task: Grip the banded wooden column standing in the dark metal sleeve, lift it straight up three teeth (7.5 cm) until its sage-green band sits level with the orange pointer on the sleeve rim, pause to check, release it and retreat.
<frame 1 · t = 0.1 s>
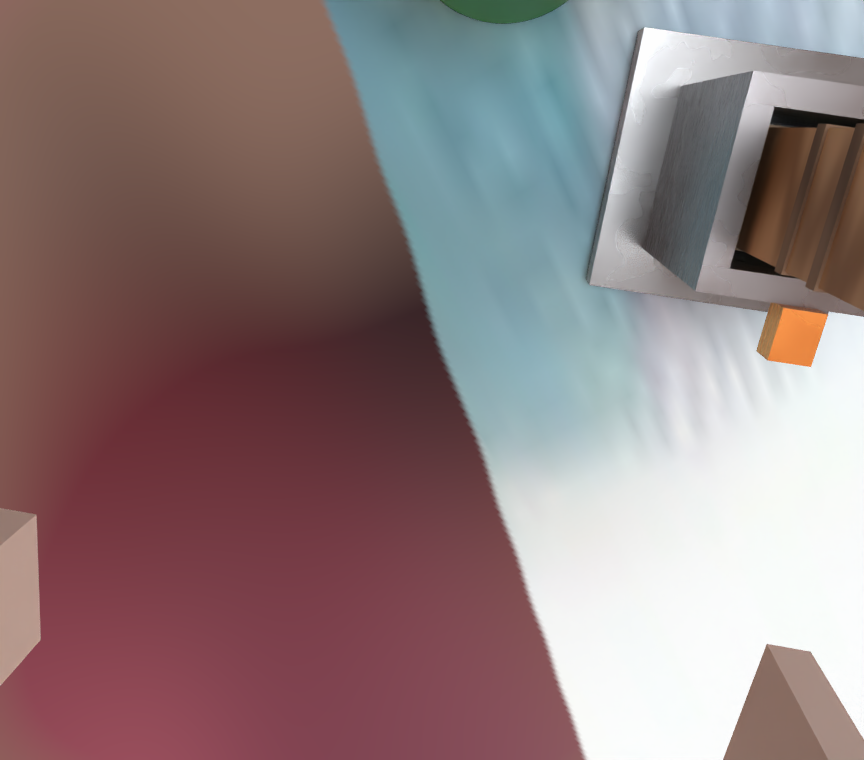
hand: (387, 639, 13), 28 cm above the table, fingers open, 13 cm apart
stand base: (730, 179, 37), on the table
column: (856, 207, 24), point 13 cm above the table, slide at 0.0 cm
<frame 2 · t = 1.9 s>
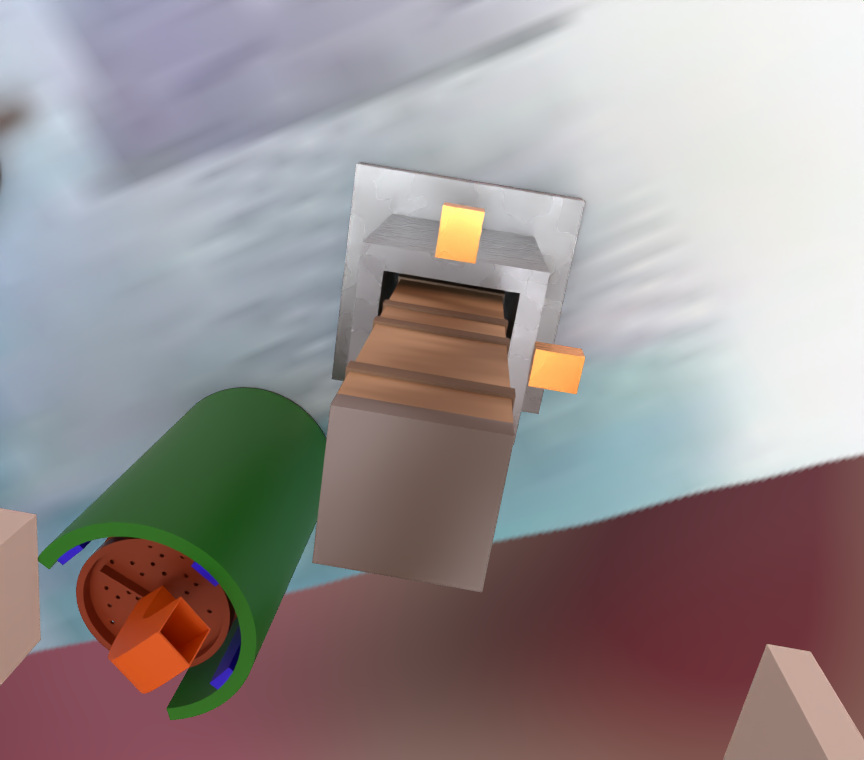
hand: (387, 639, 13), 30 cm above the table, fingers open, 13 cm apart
stand base: (452, 289, 41), on the table
motor: (260, 455, 46), on the table
column: (438, 361, 29), point 13 cm above the table, slide at 0.0 cm
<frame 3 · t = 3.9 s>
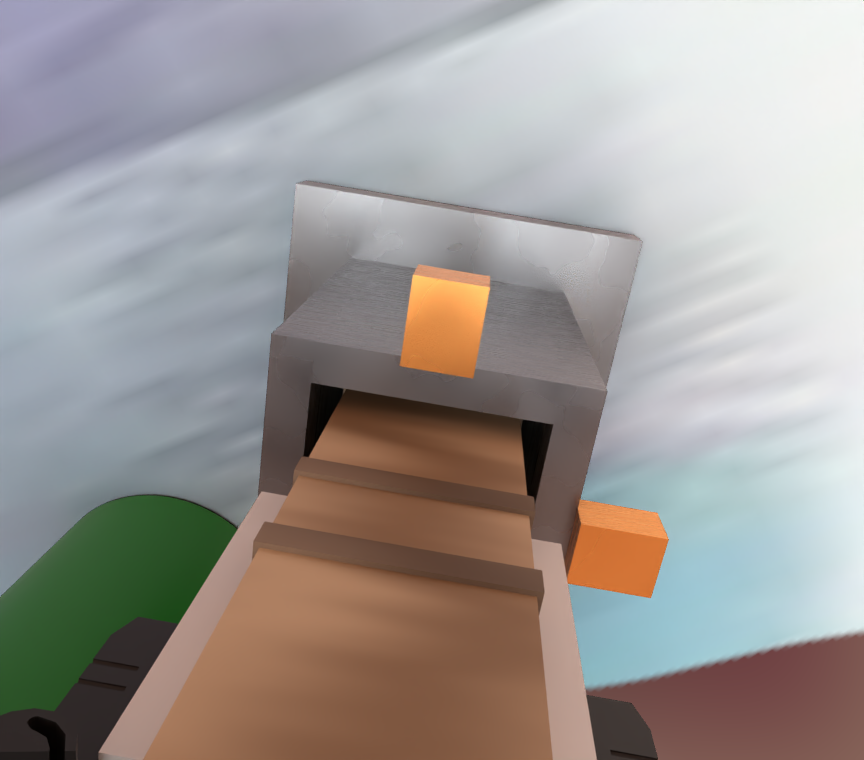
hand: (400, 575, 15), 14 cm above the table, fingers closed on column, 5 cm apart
stand base: (443, 363, 28), on the table
motor: (177, 584, 33), on the table
column: (405, 553, 16), point 13 cm above the table, slide at 0.0 cm, touching gripper
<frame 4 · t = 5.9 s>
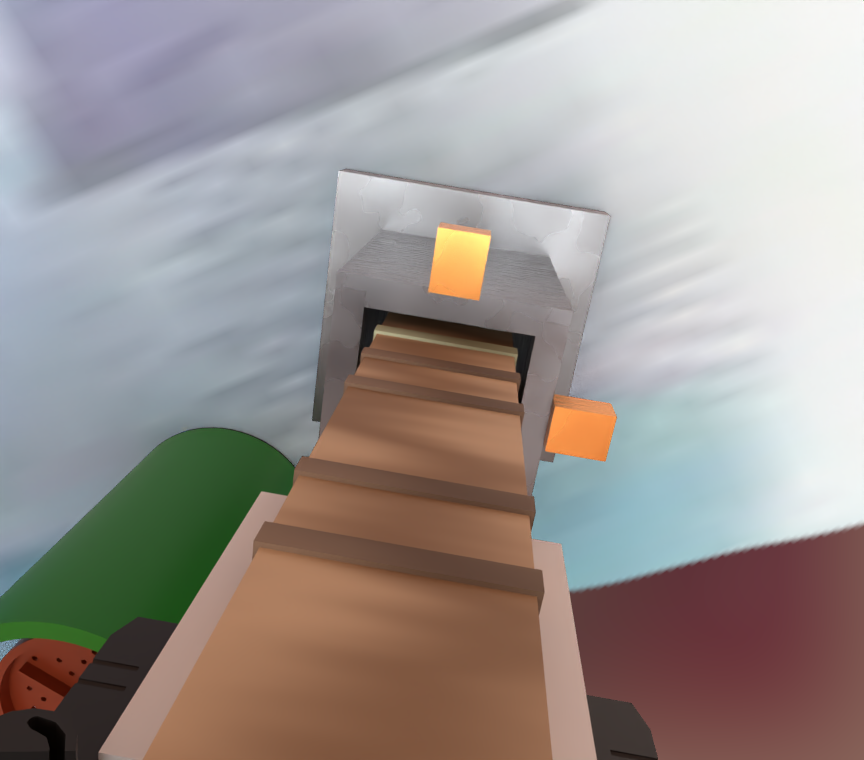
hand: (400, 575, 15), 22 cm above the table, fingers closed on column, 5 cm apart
stand base: (453, 316, 35), on the table
motor: (232, 504, 40), on the table
column: (405, 553, 16), point 21 cm above the table, slide at 7.3 cm, touching gripper
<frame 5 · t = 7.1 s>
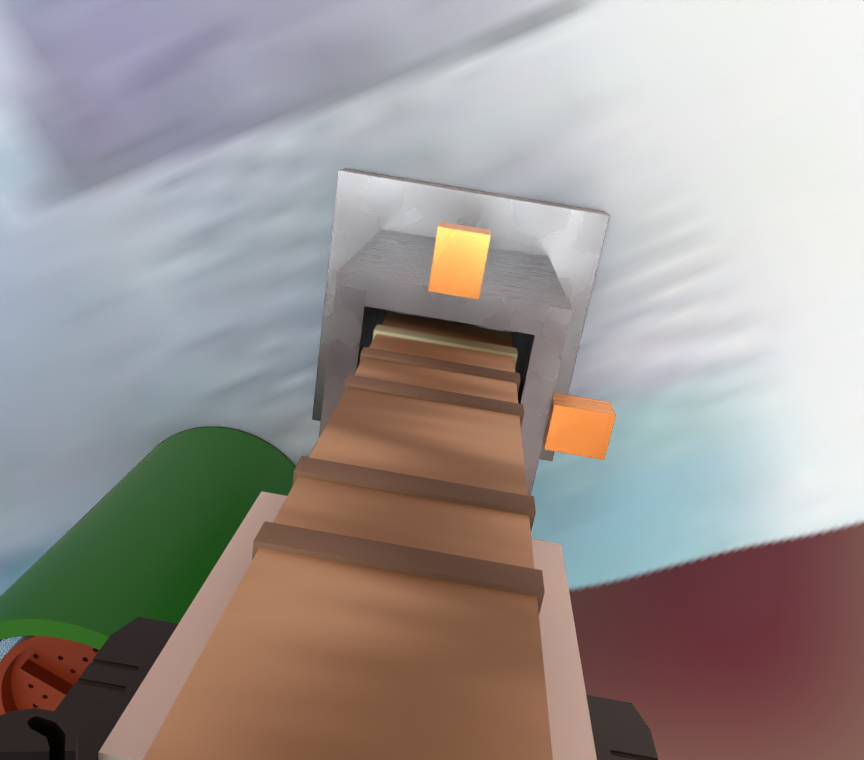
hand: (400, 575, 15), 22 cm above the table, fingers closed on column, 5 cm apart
stand base: (453, 315, 35), on the table
motor: (232, 503, 40), on the table
column: (405, 553, 16), point 21 cm above the table, slide at 7.5 cm, touching gripper
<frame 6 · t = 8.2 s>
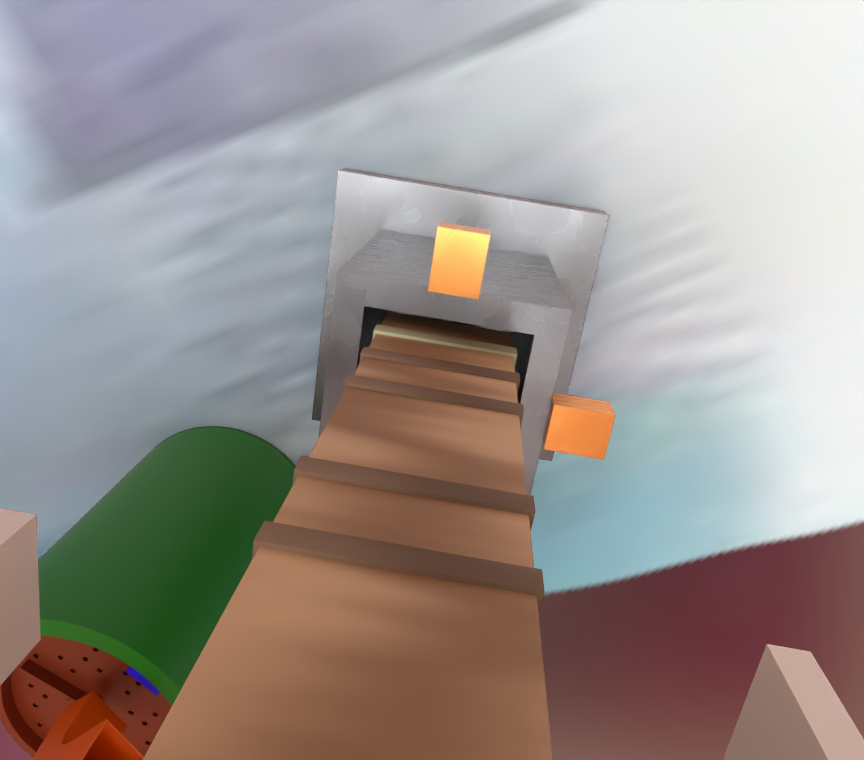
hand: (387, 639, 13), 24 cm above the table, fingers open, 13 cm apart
stand base: (452, 315, 36), on the table
motor: (232, 503, 40), on the table
column: (405, 553, 16), point 21 cm above the table, slide at 7.5 cm
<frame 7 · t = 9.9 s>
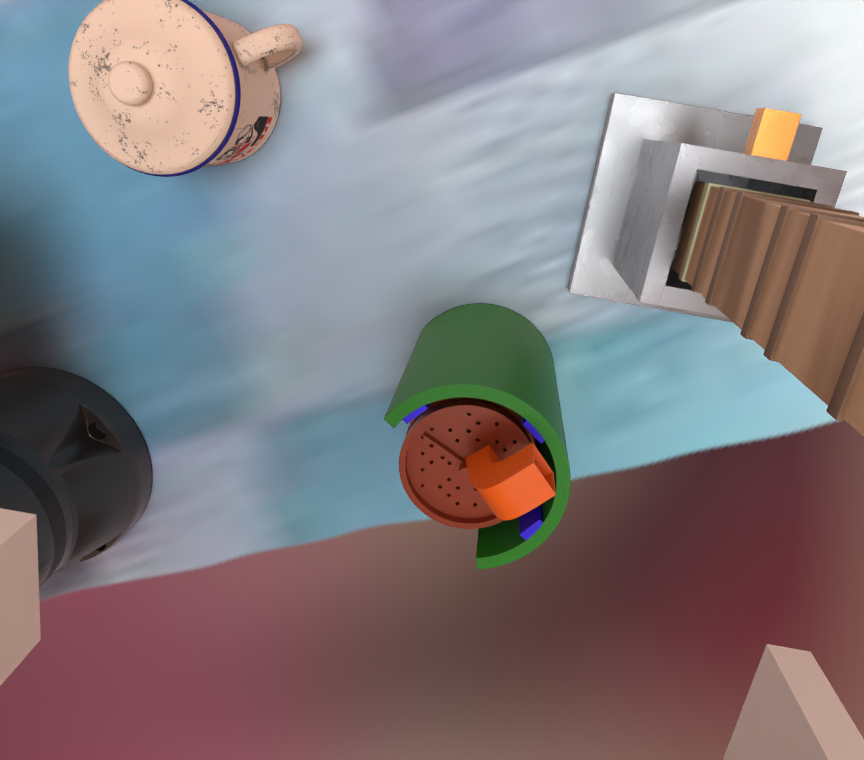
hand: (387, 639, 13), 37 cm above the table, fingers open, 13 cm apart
stand base: (683, 211, 46), on the table
motor: (486, 368, 51), on the table
teacup with lid: (236, 83, 46), on the table
column: (817, 278, 26), point 21 cm above the table, slide at 7.5 cm
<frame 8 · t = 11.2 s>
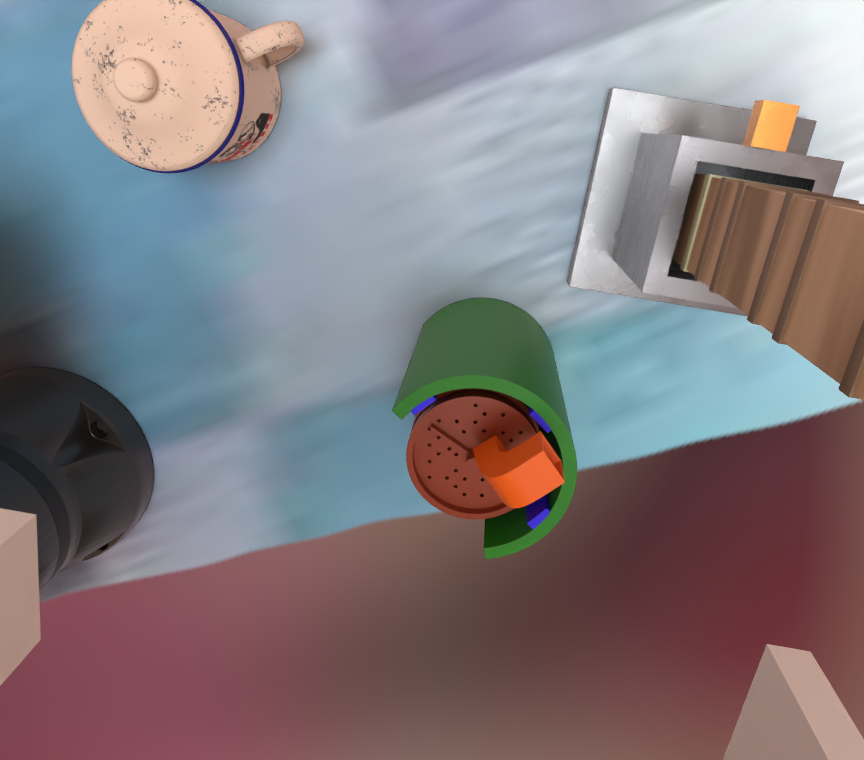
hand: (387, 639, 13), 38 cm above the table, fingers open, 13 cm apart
stand base: (681, 204, 46), on the table
motor: (487, 362, 51), on the table
teacup with lid: (236, 81, 46), on the table
column: (821, 264, 27), point 21 cm above the table, slide at 7.5 cm
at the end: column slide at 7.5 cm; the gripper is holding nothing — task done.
